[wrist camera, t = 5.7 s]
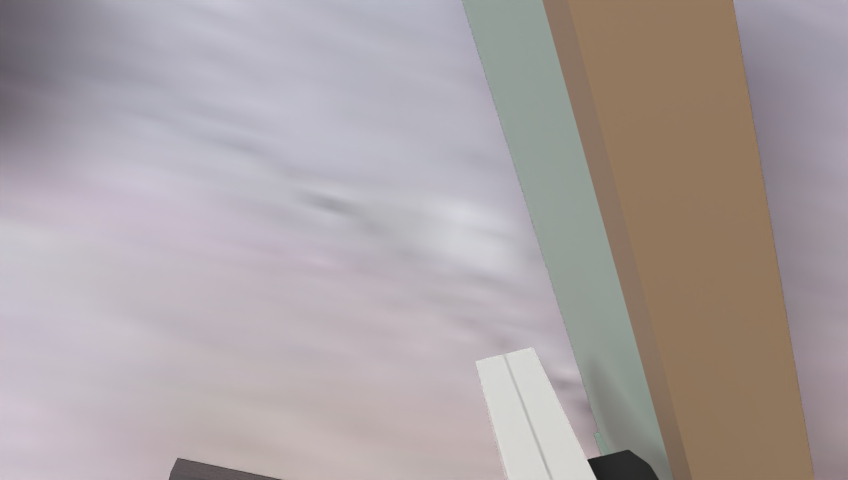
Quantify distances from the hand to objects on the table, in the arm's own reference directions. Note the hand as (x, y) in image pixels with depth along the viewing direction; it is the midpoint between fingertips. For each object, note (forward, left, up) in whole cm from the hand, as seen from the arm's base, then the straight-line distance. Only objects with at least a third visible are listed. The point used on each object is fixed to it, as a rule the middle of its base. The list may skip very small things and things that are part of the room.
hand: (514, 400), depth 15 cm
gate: (-3, +2, -7) cm, 7 cm away
